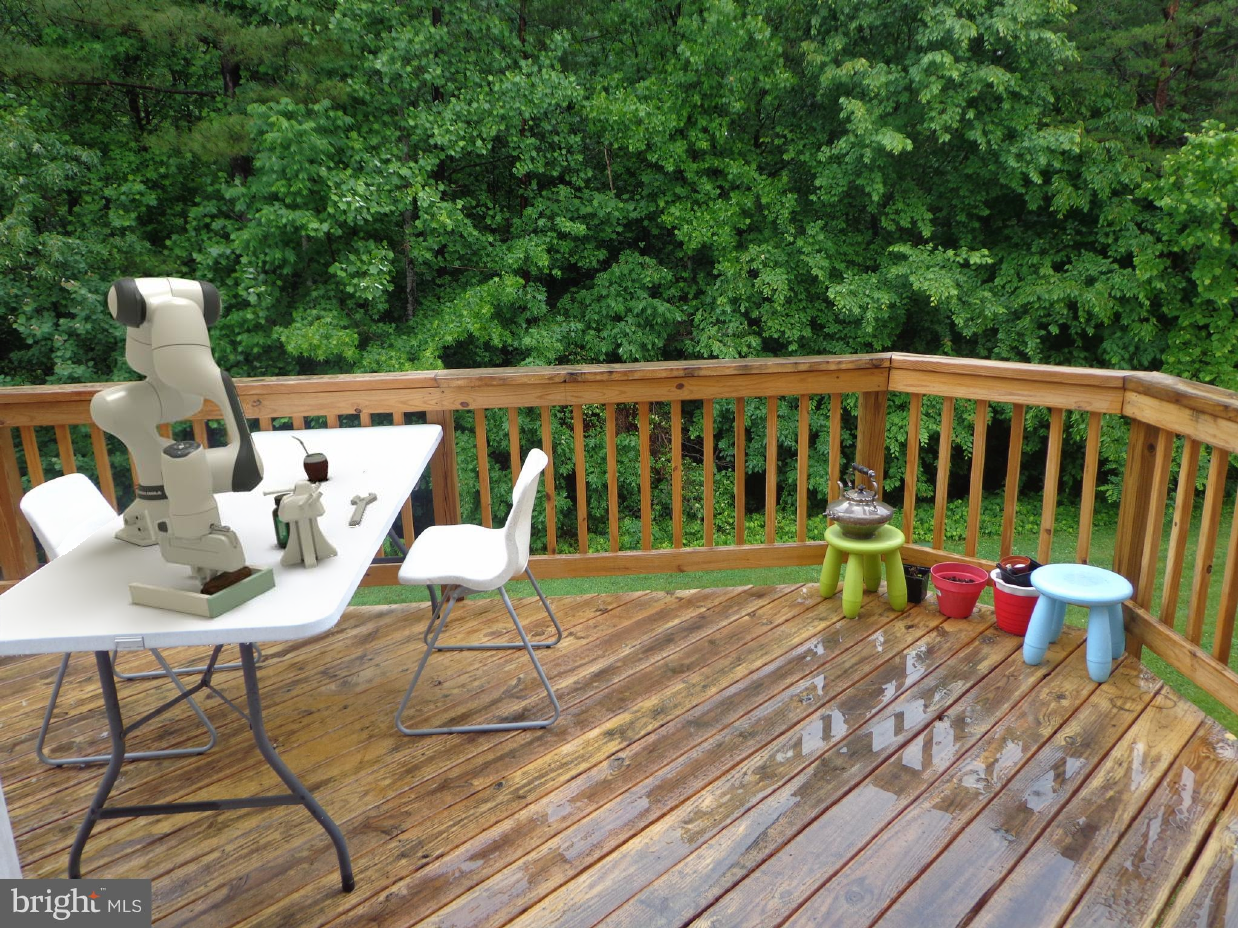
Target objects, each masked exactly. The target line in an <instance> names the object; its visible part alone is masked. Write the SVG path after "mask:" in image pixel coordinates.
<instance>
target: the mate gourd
mask: <svg viewBox="0 0 1238 928" xmlns="http://www.w3.org/2000/svg"><path fill="white" fill-rule="evenodd" d="M291 437H292V438H293V439H295V440H297V441H298V442H299V444H300V445H301V446H302V448H303V450H304V451H305V454H306V455H304V458H303V462H302V463H303V464H302V466H303V470H304V472H305V474H306V475H307V478H308V479H307V481H308V482H312V485H315V484H316V483H317V482H319V483H320V482H328V481H329V478H328V476H329V459H328V458H327V455H325V453H321V452H313V453H309V451H308V450H307V448H306V446H305V444H304V442H303V440H301V439H300V438H298V437H296V436H293V435H291Z"/></svg>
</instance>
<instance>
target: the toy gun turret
mask: <svg viewBox="0 0 1238 928" xmlns="http://www.w3.org/2000/svg"><path fill="white" fill-rule="evenodd" d="M321 487H322V484H321V483H320V481H319V482H317V483H316V484H311V481H308V480H305V481H298V482H297V483H295V485H294V486H293V487H289V488H281V489H276V490H269V491H268V490H267V491H266V490H265V491H264V490H263V491H262V493H263V496H264V497H266V496H269V495H279V494H284V493H291V494H288V495H286V496H283V498H282V500H281V502H280V506H279V511H278V515H279V520H281V521H282V522H284V523H286V522H289V523H290V536H289V540H288V544H287V547H286V548H284V551H283V554H282V555H281V557H280V566H282V567H283V566H287V565H294V564H298V563H304V566H305V569H311V568H316V566H318V565H317V560H319V559H318V558H321V559H324V558H323V557H326V558H329V557H328V556H331V555H336V556H338V555H339V554H338V551H337V548H336V547H335V546H334V545H333V544H332V543H331V542H330V541H329V540H328V539H327V538H326V536H325V535H324V533H323V532H322V530H321V528H320V526H319V522H318V518H320V517H321V518H322V517H323V516H324V514H325V513H326V509H325V507H324V504H323V503H322V501H321V498H322V497H323V495H324V493H322V492H321V491H319V490H320V488H321ZM337 554H338V555H337ZM331 557H332V556H331ZM316 559H317V560H316Z"/></svg>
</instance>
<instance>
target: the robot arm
mask: <svg viewBox="0 0 1238 928" xmlns="http://www.w3.org/2000/svg"><path fill="white" fill-rule="evenodd" d="M107 303H108V304H107V306H108V309H109V312H110V313H111V315H112V318H113V320H115V321H116V322H117V324H119V325H122V326H124V327H126V328H127V329H126V340H125V360H126V362H127V364H128V366H129V367H130V368H131V369H132V370H133V371H135V372H137V373H139V374H140V375H143V376H145V377H146V378H145V380H142V381H136V382H131V383H130V382H129V383H126V384H120V385H114V386H112V387H109V388H106V389H104V390H101V391H99V392H97V393H95V394H94V396H92V398H91V401H90V405H89V413H90V416H91V418H92V421H93V422H94V424H95V425H96V426H97V427H98V428H99V429H101V430H102V431H104V432H106V433H109V434H110V435H112V436H114V437H116V438H117V439H119V440H120V441H121V442H122V443H123V444H124V445H125V446H126V447H127V449H128V450H129V452H130V454H131V457H132V459H133V462H134V463H133V464H134V466H135V471H136V473H137V477H138V478H137V479H138V482H139V483H136V484H134V485H133V487H134V488H133V490H135V491H136V490H137V494H136V498H135V500H134V501H133V502H132V503H131V504H130V505H129V506H128V507H127V508H126V509H125V510H124V512H123V514H122V521H123V528H121V529H119V530H117V531H115V532H114V537H115V538H117V539H119V540H124V541H127V542H130V543H132V544H135V545H139V546H140V547H146V546H147V547H148V546H152V545H156V544H158V545H159V549H160V554H161V557H162V558H163V559H164V561H165V562H166V563H168V564H176V565H181V566H182V565H183V566H188V567H189V566H192V568H193V571H194V573H195V574H196V575H197V576H196V577H197V578H198V580H199V585H200V586H201V587H203V586H204V584H205V583H206V582H208V581H209V580H211V579H212V578H214V577H216V576H217V573H218V570H220V571H227V572H234V571H236V570H238V569H240V568H242V567H244V565H245V564H247V563H246V556H245V553H244V549H243V545H242V543H241V539H240V537H239V536H238V534H237V533H236V531H234V529H232V528H231V526H229V525H222V520H221V515H220V510H219V505H218V501H217V499H216V497H215V495H218V494H226V493H250V492H252V491H253V490H255V489H256V488H257V487H258V486H259V485H260V484H261V482H263V480H264V474H265V473H264V472H265V468H264V463H263V460H262V457H261V455H260V453H259V451H258V450H257V447H256V445H255V442H254V439H253V436H252V432H251V430H250V427H249V424H248V420H247V417H246V414H245V410H244V407H243V405H242V402H241V399H240V398H241V397H240V396H239V393H238V390H237V388H236V385H235V383H234V380H233V379H232V376H231V375H230V374H229V372H228V371H226V370H223V369H221V368H220V367H219V366H218V364H217V363H216V361H215V360H214V357H213V354H212V349H211V342H210V337H209V331H208V328H209V327H213V326H215V324H216V323H218V321H219V319H220V317H221V313H222V304H223V303H222V298H221V296H220V291H219V290H218V289H217V287H216V286H215V285H214V284H213V283H211V282H208V281H205V280H201V279H196V280H192V279H186V278H179V277H170V276H169V277H167V276H165V277H138V278H134V277H133V276H128V277H120V278H118V279H115V280H114V281H113V283H112V284H111V285H110V289H109V292H108V296H107ZM205 399H207V400H210V401H213V402H214V403H215V404H217V405H218V407H219V408H220V410H221V413H222V416H223V419H224V422H225V424H226V429H227V431H228V435H229V437H230V441H231V442H230V444H229V445H228V446H227V445H226V446H219V447H212V448H211V447H210V448H205V449H204V447H203V444H202V443H201V442H198V441H195V440H182V441H175V440H173V439H170V438H168V437H167V438H166V437H162V436H160V434H159V433H158V430H157V425H158V426H159V425H163V424H167V423H172V422H176V421H181V420H184V419H186V418H188V417H191V416H194V415H196V414H197V413H199V412H200V411H202V408H203V405H204V400H205ZM207 572H208V574H207Z"/></svg>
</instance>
